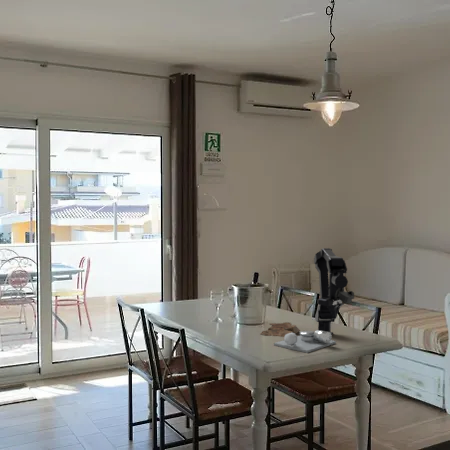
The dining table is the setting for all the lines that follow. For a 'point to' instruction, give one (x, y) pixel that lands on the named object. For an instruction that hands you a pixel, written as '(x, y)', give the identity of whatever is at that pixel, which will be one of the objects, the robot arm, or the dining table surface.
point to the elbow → (318, 335)
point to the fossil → (280, 329)
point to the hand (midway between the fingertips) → (334, 318)
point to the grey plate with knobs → (301, 343)
